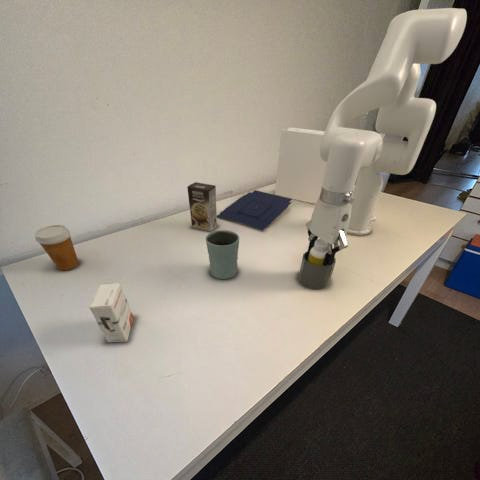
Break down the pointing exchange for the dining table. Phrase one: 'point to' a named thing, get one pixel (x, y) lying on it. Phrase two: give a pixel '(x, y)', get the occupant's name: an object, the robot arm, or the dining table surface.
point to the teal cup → (223, 253)
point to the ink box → (112, 312)
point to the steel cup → (315, 274)
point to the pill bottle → (318, 253)
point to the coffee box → (202, 206)
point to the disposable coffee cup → (58, 246)
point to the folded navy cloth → (256, 209)
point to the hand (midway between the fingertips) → (319, 257)
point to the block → (300, 165)
